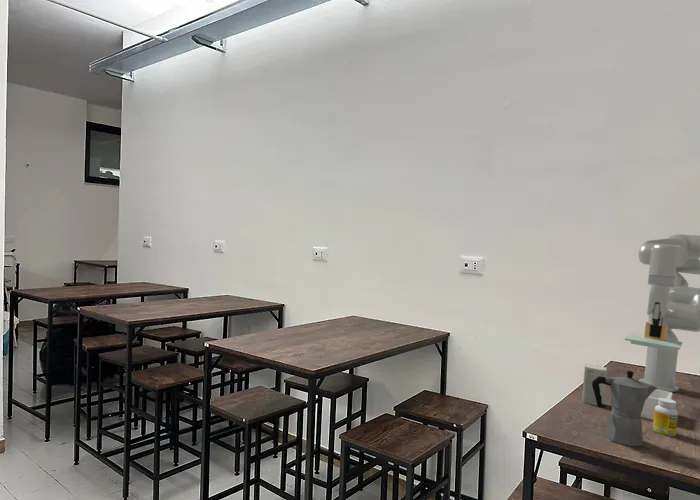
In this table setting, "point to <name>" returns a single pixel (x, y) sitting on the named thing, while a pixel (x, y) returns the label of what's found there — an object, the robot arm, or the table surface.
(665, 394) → the tub
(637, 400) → the coffeepot
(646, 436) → the table surface
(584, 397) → the skincare box
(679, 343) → the lid
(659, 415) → the supplement bottle
